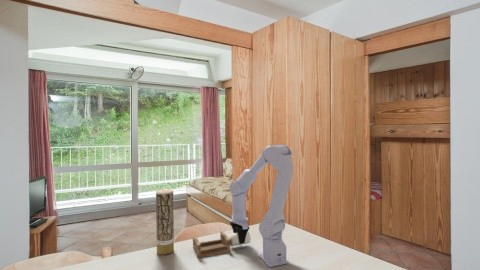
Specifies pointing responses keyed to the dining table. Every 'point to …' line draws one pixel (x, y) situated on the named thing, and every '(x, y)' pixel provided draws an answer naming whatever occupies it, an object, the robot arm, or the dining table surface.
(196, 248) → the holder
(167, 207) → the paper tube
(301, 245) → the dining table surface
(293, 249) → the dining table surface
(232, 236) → the roll
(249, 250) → the dining table surface
